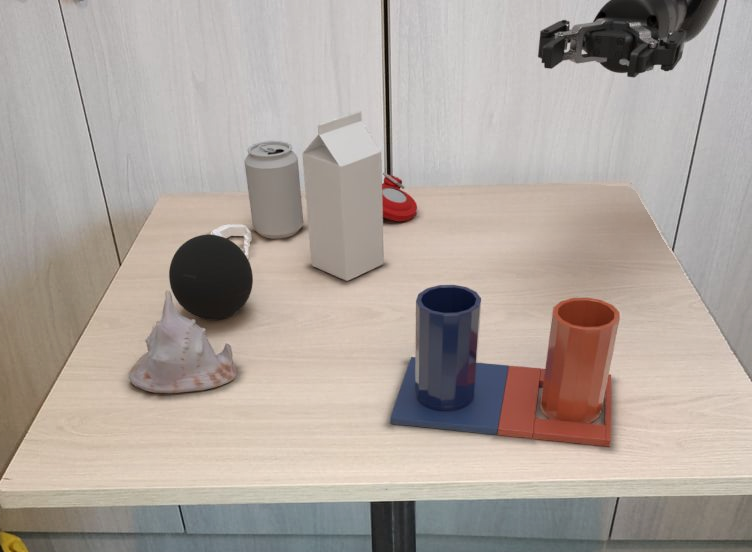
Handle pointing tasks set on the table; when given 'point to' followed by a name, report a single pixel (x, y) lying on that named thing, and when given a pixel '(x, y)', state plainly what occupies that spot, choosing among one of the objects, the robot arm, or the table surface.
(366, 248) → the milk carton
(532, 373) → the sorting board
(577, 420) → the red cup
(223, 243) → the speaker
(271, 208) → the can
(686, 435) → the table surface
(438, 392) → the blue cup
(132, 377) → the seashell
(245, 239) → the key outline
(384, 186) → the tracker holder
